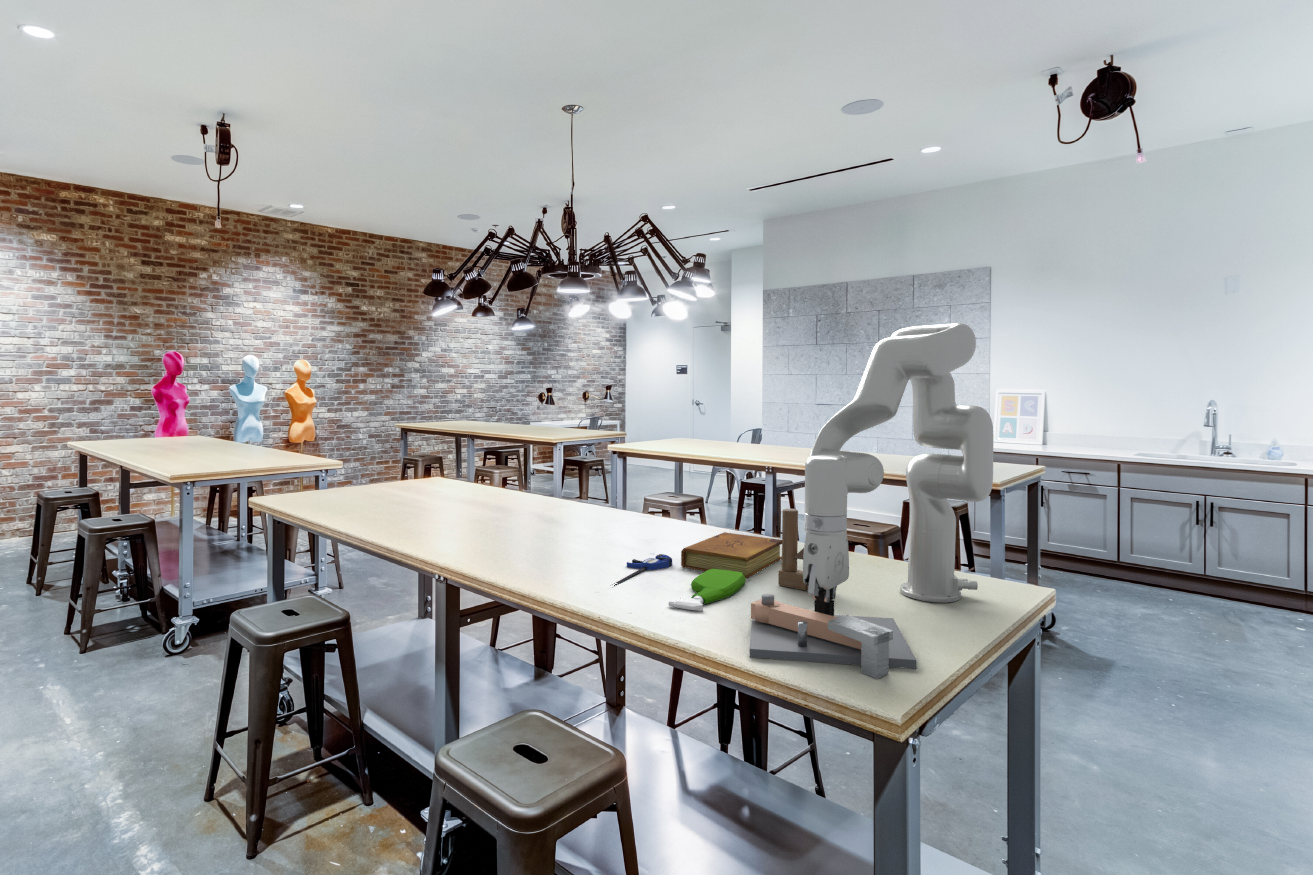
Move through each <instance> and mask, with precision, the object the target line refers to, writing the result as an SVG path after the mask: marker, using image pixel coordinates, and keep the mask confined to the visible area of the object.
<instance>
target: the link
mask: <svg viewBox="0 0 1313 875" xmlns="http://www.w3.org/2000/svg"><path fill="white" fill-rule="evenodd" d="M835 618H838V617H835V616H831V615H827V614H823V613H819V612H815V611H814V610H810V609H808V608H807V609H806V608H802V607H798V606H795V605H791V604H786V603H784V602H783V603H782V602H780V601H778V600H775V595H774V594H771V593H762V594H761V598H760V599H757V600H755V601H752V602H751V603H750V619H751V620H752V619H755V620H756V621H758V622H761V623H769V624H772V625H776V626H779V627H783V628H786V629H790V630H793V631H797V632H798V622H799V621H805V622H807V634H808V635H811V636H815V637H818V638H822V639H825V640H829V641H832V642H836V643H839V644H843V645H846V646H850V647H854V648H857V649H861V645H862V642H860V641H857V640H855V639H852V638H849V637H847V636H844V635H841V634H839V633H836V632H833V631H831V630H828V621H829V620H832V619H835Z"/></svg>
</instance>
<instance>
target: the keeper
mask: <svg viewBox="0 0 1313 875" xmlns="http://www.w3.org/2000/svg"><path fill="white" fill-rule="evenodd" d="M852 616H853V615H849V614H845V616H842V617H838V618H835V619H832V620H829V621H828V630H831V631H833V632H836V633H839V634H841V635H844V636H847V637H849V638H852V639H855V640H857V641H860V642H862V645H861V665H860V673H862V674H863V675H865V676H869V677H871V678H873V679H875V680H878V679H880V678H883V677H885V676H888V675H889V668H890V667H889V641H890V640H893V630H890V629H887V628H885V627H882V626H879V625H876V624H873V623H870V622H867V621H864V620H861V619H858V618H855V617H852ZM798 646H800V647H807V622H805V621H799V622H798Z"/></svg>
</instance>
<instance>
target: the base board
mask: <svg viewBox="0 0 1313 875" xmlns="http://www.w3.org/2000/svg"><path fill="white" fill-rule="evenodd" d="M845 615H846V614H845ZM845 615H843V614H842V615H841V614H834V616H835V617H842V616H845ZM851 616H852V617H855V618H858V619H861V620H864V621H867V622H870V623H873V624H876V625H879V626H882V627H885V628H887V629H890V630H893V640H890V641H889V668H899V669H910V670H911V669H912V670H913V669H915V670H917V662H918V661H917V660H918V659H917V658H916V656H915V654H914V653H913V651H912V649H911V647H910V645H909V644H908V642H907V641H906V638H905V637H904V635H903V633H902V631H901V629H900V628H899V627H898V624H897V621H895V619H894V618H893V617H879V616H878V617H877V616H861V615H860V616H859V615H851ZM749 640H750V642H749V658H753V659H755V658H756V659H765V660H767V659H769V660H781V661H782V660H785V661H795V662H808V663H809V662H810V663H811V662H812V663H828V664H840V665H855V666H861V649H857V648H854V647H850V646H846V645H843V644H839V643H836V642H832V641H829V640H825V639H822V638H818V637H815V636H811V635H808V634H807V647H800V646H798V632H797V631H793V630H790V629H786V628H783V627H779V626H776V625H772V624H769V623H761V622H758V621H756V620H755V619H751V627H750V639H749Z"/></svg>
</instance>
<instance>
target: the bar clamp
mask: <svg viewBox="0 0 1313 875" xmlns="http://www.w3.org/2000/svg"><path fill="white" fill-rule="evenodd" d="M631 560H632V562H629V561H627V562H626V567H627V568H630V569H638V570H636V571H634V572H633V573H630V574H629V575H626V576H625V577H623V578H621V579H620V580H617V581H616V582H614V583H613V584H615V583H618V585H619V583H620V584H622V583H624V582H626V581H627V580H630V579H631V578H633V577H634V576H636V575H638V574H640V573H642V572H643V571H655V570H662V569H667V568H668V569H669V568H670V567H672V566H673V558H672V557H671V556H670V555H667V554H662V553H660V554H657V555H655V558H652V557H648V558H646V559H644V560H638V559H635V558H633V559H631ZM625 580H626V581H625ZM623 581H624V582H623ZM621 582H622V583H621ZM613 584H611V585H613ZM615 585H616V586H618V585H617V584H615ZM615 585H614V587H616V586H615Z"/></svg>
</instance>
